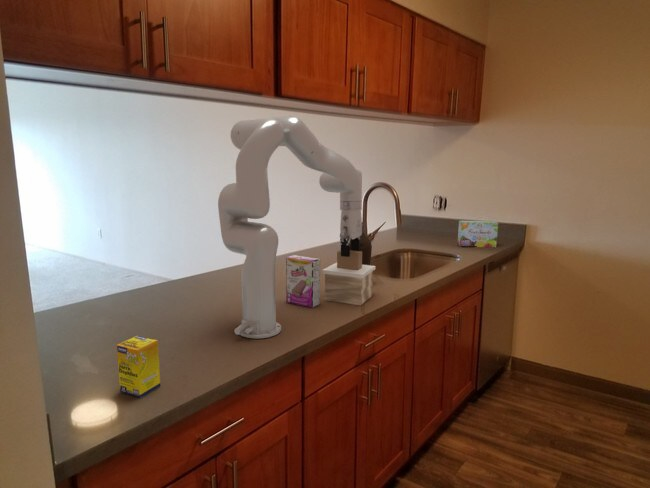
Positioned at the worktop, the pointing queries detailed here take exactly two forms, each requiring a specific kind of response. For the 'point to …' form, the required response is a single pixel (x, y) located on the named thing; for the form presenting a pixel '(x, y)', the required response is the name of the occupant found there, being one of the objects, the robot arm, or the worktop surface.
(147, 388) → the supplement box
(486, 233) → the snack box
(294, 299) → the candy bar box
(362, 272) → the lid
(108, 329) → the worktop surface
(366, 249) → the olive oil
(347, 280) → the box
